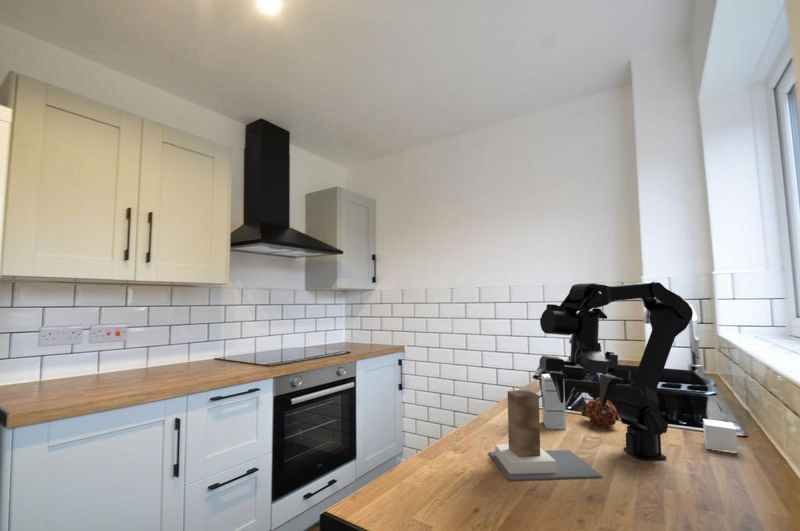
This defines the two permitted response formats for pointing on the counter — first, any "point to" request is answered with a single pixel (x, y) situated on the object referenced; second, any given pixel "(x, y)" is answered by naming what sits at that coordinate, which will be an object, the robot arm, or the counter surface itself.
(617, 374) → the robot arm
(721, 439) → the white cube
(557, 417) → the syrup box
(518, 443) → the walnut pillar block
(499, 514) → the counter surface
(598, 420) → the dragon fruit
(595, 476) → the build board
